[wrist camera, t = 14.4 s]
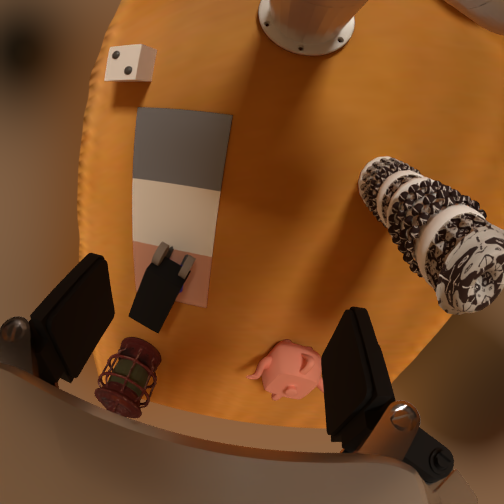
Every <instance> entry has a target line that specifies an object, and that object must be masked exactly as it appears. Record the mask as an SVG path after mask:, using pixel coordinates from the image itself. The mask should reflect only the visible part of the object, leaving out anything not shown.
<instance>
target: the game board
mask: <svg viewBox="0 0 504 504" xmlns="http://www.w3.org/2000/svg"><path fill="white" fill-rule="evenodd" d="M232 117H233V115H227V114H219V113H211V112H202V111H192V110H181V109H167V108H145V107H138V110H137V119H136V130H135V143H134V158H133V184H132V227H133V253H134V270H135V283H136V291H138V289H139V286H140V283H141V281H142V278H143V276H144V273H145V270H146V268H147V267H148V266H149V265H150V263H151V261H152V258H153V255H154V253H155V251H156V250H157V248H158V246H159V245H160V243H161V242H164V243H166V244H168V245H169V248H170V247H172V246H173V249H174V250H173V252H172V254H171V256H170V258H169V259H171V260H172V261H174V262H176V263H178V264H179V265H181V263H182V261H183V258H184V256H185V255H187V254H188V255H191V256H192V257H194V258H196V260H195V261H194V263H193V265H192V267H191V269H190V271H191V272H190V274H189V276H188V278H187V279H186V281H185V283H184V285H183V290H182V292H181V293H179V294H178V296H177V298H176V300H175V301H177V302H181V303H186V304H190V305H194V306H199V307H203V308H207V299H208V289H209V280H210V271H211V262H212V254H213V246H214V237H215V230H216V222H217V214H218V207H219V200H220V193H221V186H222V179H223V172H224V166H225V159H226V153H227V146H228V140H229V134H230V128H231V122H232ZM166 254H167V253H166ZM165 256H166V255H165Z"/></svg>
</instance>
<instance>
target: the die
mask: <svg viewBox="0 0 504 504" xmlns="http://www.w3.org/2000/svg"><path fill="white" fill-rule="evenodd" d="M156 53H157V50H156V49H153V48H151V47H148V46H146V45H143V44H136V45H125V46H116V47H110V50H109V55H108V61H107V67H106V73H105V80H104V81H115V82H151V81H152V75H153V69H154V63H155V58H156Z"/></svg>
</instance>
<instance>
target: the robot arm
mask: <svg viewBox="0 0 504 504" xmlns="http://www.w3.org/2000/svg"><path fill="white" fill-rule="evenodd" d="M367 1H368V0H261V2H260V5H259V11H258V15H259V21H260V24H261V27H262V29H263V30H264V32H265V34H266V35H267V36H268V37H269V39H271V40H272V41H273V42H274V43H275V44H276V45H278V46H280V47H281V48H283V49H285V50H287V51H290V52H292V53H296V54H300V55H306V56H320V55H325V54H329V53H331V52H334V51H336V50H338V49H339V48H341V47H342V46H343V45H345V44H346V43H347V41H348V40H349V39H350V38H351V36H352V33H353V31H354V26H355V18H354V15H355V14H356V13H357V12H358V11H359V10H360V9H361V8H362V7H363V6H364V4H365V3H366V2H367ZM444 1H445V2H447V3H448V4H449V5H451V6H453V7H454V8H456V9H457V10H458V11H460V12H461V13H462V14H464V15H465V16H467V17H468V18H470V19H471V20H472V21H474V22H475V23H477V24H478V25H480V26H481V27H483V28H485V29H487V30H489V31H491V32H494V33H496V34H499V35H504V0H444ZM266 24H269V26H265V25H266ZM338 40H340V41H341V43H340V42H338ZM298 48H302V51H300V50H299V49H298ZM114 314H115V310H114V304H113V298H112V292H111V286H110V279H109V272H108V264H107V261H106V260H104V257H103V256H101V255H97V254H94V253H89V254H88V255H87V256H86V257H85V258H84V259H83V260H82V261H80V262H79V264H77V266H75V268H73V269H72V271H71V272H70V273H69V274H68V275H67V276H66V277H65V278H64V279H63V280H62V281H61V282H60V283H59V284H58V285H57V286H56V288H54V289H53V290H52V292H51V293H50V294H49V295H48V296H47V297H46V298H45V299H44V300H43V301H42V303H41V304H40V305H39V306H38V307H37V308H36V309H35V311H34V312H33V313H32V314H31V315H30V317H31V320H30V321H29V322H28V321H27V319H25V318H24V317H19V316H18V317H13V318H10V319H8V320H7V321H5V322H4V323H3V324H2V326H1V328H0V504H478V502H477V501H478V500H477V497H476V495H475V493H474V492H473V490H472V489H471V488H470V486H469V485H468V483H467V482H466V481H465V479H464V478H463V477H462V475H461V474H460V472H459V471H458V470H457V469H455V470H453V466H454V464H453V463H454V460H453V455H452V454H451V452H450V451H449V450H448V449H447V448H446V447H445V446H444V445H442V444H441V443H440V442H438V441H437V440H435V439H434V438H433V437H431V436H430V435H429V434H427V433H426V432H425V431H423V430H422V429H421V428H420V427H419V426H420V416H419V413H418V411H417V409H416V408H415V407H414V406H413V405H412V404H411V403H408V402H406V401H401V400H400V401H395V397H394V393H393V389H392V386H391V382H390V378H389V375H388V371H387V368H386V364H385V361H384V357H383V354H382V351H381V348H380V346H379V345H378V342H377V339H376V336H375V333H374V329H373V326H372V323H371V320H370V317H369V315H368V312H367V310H366V309H365V308H359V307H351V308H350V309H349V310H345V312H344V314H343V316H342V318H341V320H340V322H339V324H338V326H337V328H336V330H335V332H334V334H333V336H332V338H331V339H330V341H329V343H328V345H327V347H326V349H325V351H324V353H323V355H322V358H321V368H322V378H323V388H324V400H325V413H326V427H327V433H328V435H331V442H342V448H343V449H342V450H341V452H340V453H312V452H293V451H279V450H268V449H259V448H251V447H244V446H237V445H231V444H225V443H220V442H214V441H209V440H204V439H199V438H195V437H191V436H187V435H182V434H179V433H175V432H171V431H167V430H164V429H160V428H157V427H154V426H150V425H147V424H144V423H141V422H138V421H135V420H132V419H129V418H127V417H124V416H121V415H118V414H116V413H113V412H110V411H108V410H105V409H103V408H100V407H98V406H96V405H93V404H91V403H89V402H86V401H84V400H82V399H80V398H78V397H76V396H73V395H71V394H69V393H67V392H65V391H63V390H61V389H59V386H58V380H59V379H60V378H61V379H64V380H65V381H67V382H69V383H71V382H72V381H73V379H74V378H77V377H78V375H79V374H80V372H81V370H82V369H83V367H84V365H85V364H86V362H87V360H88V359H89V357H90V355H91V353H92V352H93V350H94V349H95V347H96V345H97V344H98V342H99V340H100V339H101V337H102V335H103V334H104V332H105V331H106V329H107V327H108V326H109V324H110V323H111V321H112V320H113V318H114Z"/></svg>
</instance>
